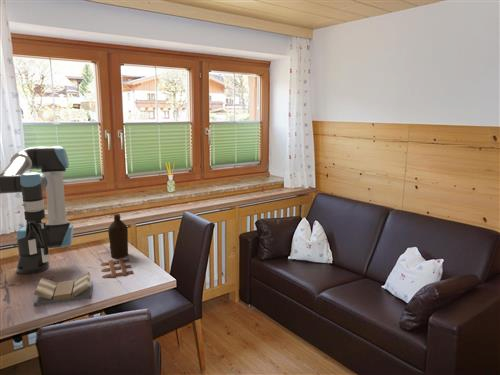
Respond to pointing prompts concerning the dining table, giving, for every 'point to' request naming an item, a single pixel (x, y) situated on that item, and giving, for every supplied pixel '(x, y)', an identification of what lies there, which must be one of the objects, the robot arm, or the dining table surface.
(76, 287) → the plank
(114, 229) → the olive oil
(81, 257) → the dining table surface
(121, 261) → the decorative fence
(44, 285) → the plank
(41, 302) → the floor board
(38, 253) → the robot arm
